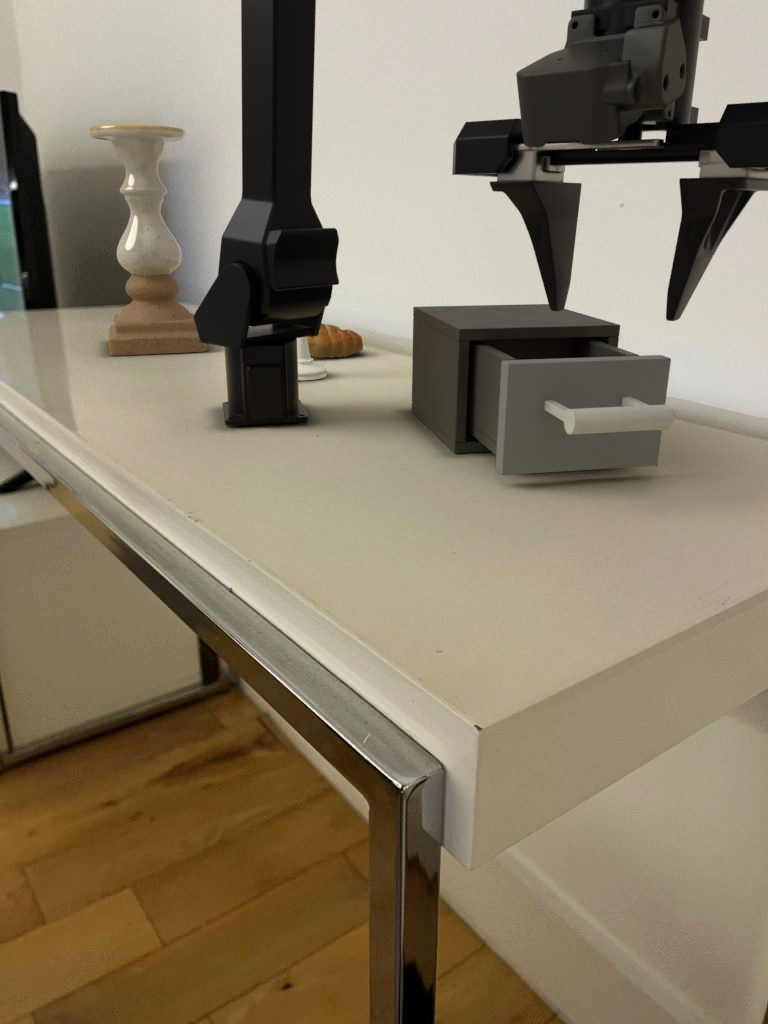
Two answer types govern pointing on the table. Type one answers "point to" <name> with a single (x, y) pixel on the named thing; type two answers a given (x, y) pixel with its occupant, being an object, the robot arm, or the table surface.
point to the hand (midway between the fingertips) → (612, 315)
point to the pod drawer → (566, 404)
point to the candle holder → (148, 250)
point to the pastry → (334, 342)
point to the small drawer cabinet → (447, 355)
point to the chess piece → (307, 363)
